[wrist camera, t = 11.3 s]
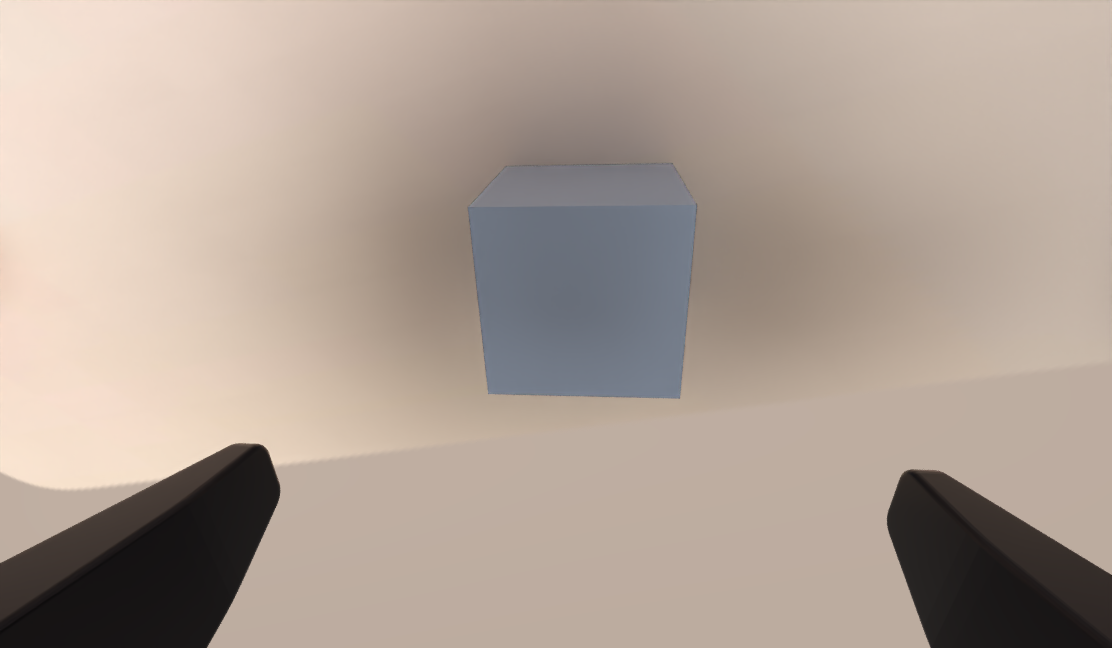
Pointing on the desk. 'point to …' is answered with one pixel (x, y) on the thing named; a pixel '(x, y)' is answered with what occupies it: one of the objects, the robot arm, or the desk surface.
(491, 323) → the slate blue cube
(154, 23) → the desk surface
